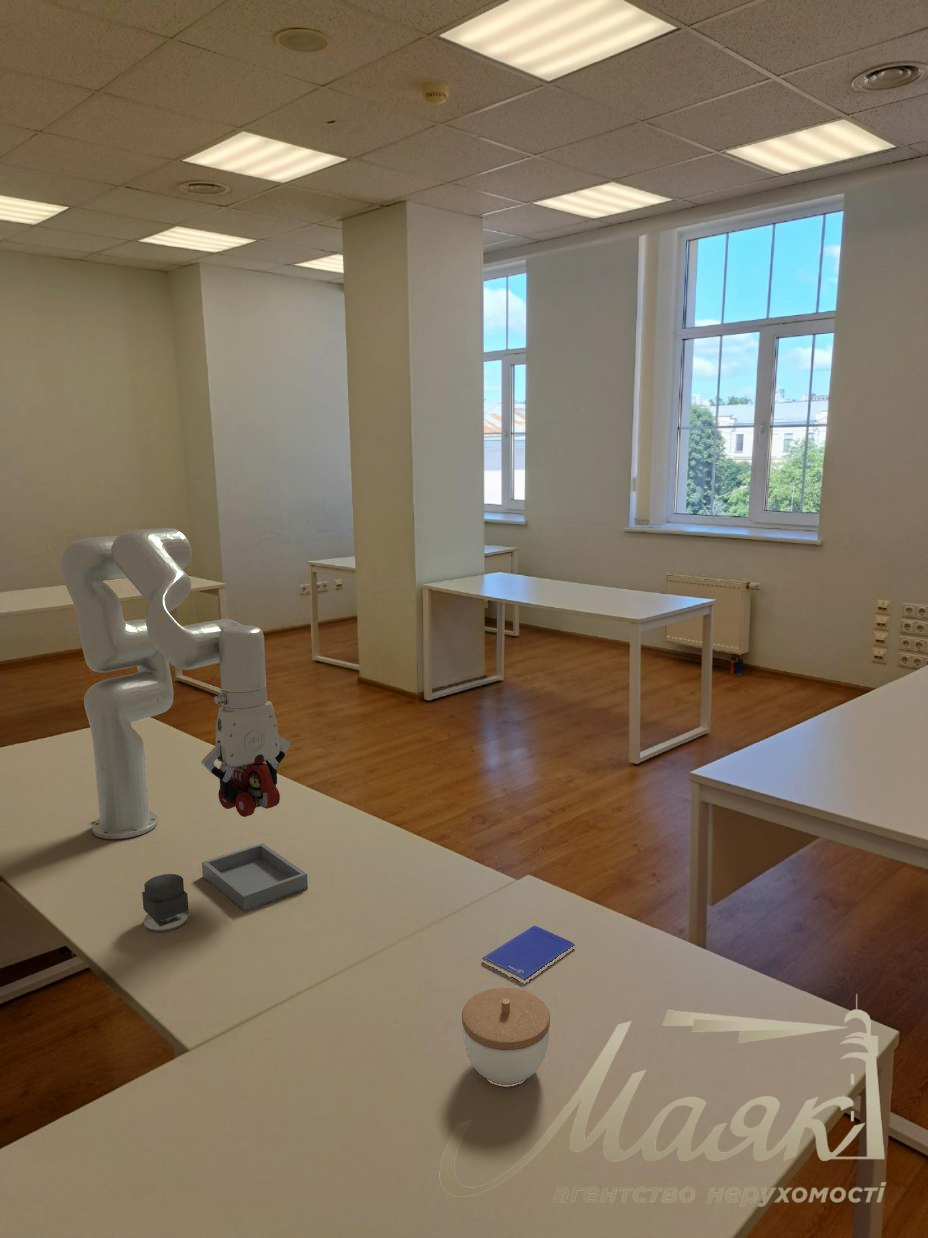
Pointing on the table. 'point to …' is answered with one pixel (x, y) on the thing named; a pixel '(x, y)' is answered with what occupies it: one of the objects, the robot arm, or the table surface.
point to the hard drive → (528, 952)
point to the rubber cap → (165, 897)
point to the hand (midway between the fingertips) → (249, 794)
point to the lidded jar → (505, 1034)
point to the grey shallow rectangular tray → (254, 876)
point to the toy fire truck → (252, 788)
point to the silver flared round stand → (166, 923)
